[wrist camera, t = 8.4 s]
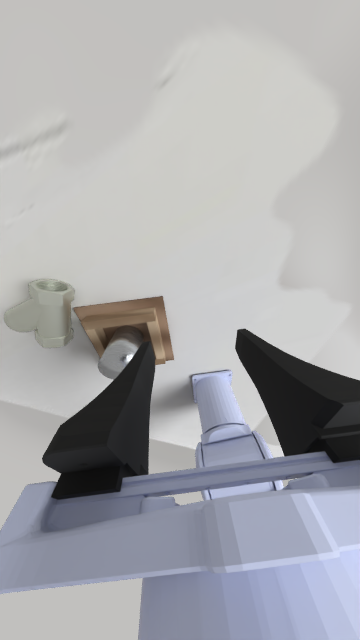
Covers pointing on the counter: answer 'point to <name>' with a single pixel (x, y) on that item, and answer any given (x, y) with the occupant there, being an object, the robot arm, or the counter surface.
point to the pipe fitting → (45, 313)
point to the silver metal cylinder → (120, 350)
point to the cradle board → (135, 313)
